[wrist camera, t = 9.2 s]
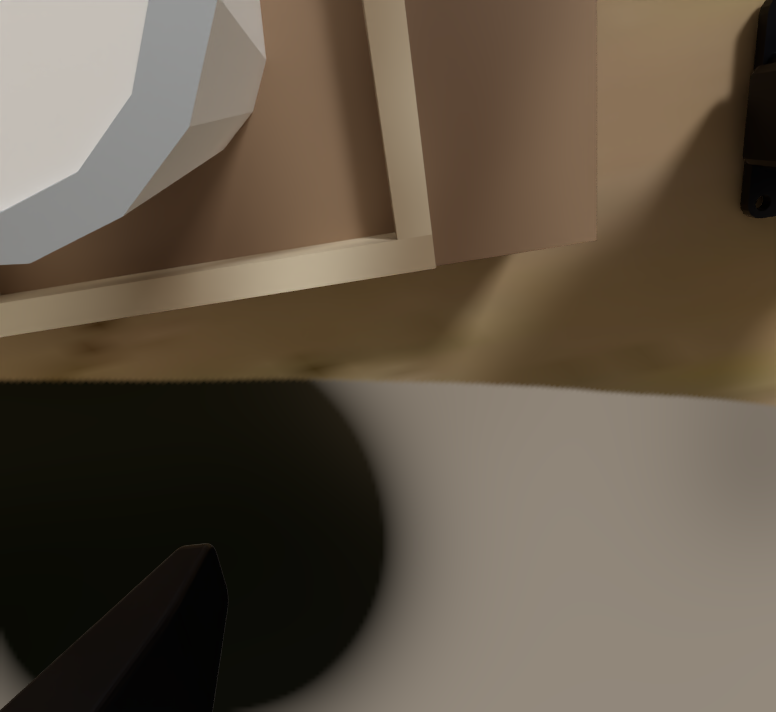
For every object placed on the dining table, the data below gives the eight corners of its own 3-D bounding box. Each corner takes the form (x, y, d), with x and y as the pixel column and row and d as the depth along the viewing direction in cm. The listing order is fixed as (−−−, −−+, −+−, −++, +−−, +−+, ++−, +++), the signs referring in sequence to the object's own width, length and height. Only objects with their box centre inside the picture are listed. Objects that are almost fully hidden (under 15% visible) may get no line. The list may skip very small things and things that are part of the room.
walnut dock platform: (518, -271, 14) (622, -538, 8) (538, 212, 18) (613, 248, 13) (-249, -135, 14) (-642, -303, 9) (-40, 304, 19) (-208, 378, 13)
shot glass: (135, 258, 13) (-73, 378, 7) (-113, -10, 11) (-760, -198, 5) (358, 77, 12) (353, 20, 6) (129, -270, 10) (-315, -1024, 3)
